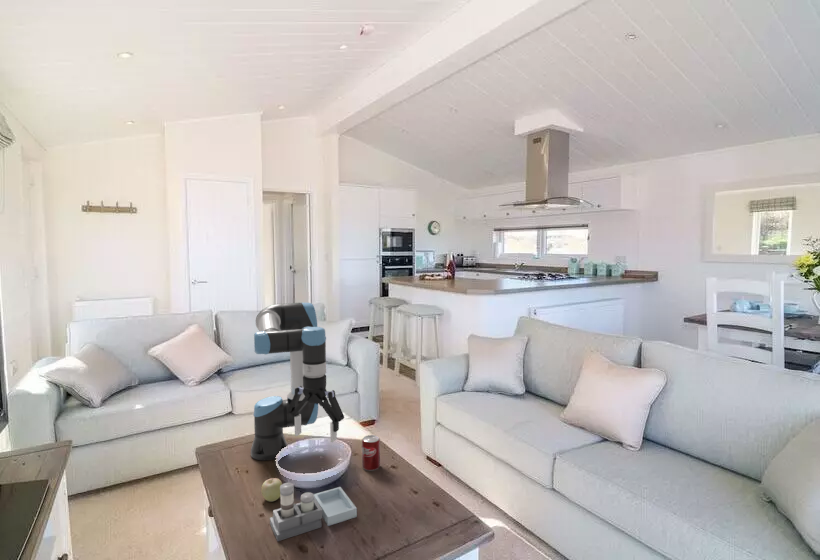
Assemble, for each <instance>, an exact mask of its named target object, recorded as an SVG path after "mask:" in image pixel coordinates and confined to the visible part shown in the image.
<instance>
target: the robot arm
mask: <svg viewBox="0 0 820 560" xmlns="http://www.w3.org/2000/svg"><path fill="white" fill-rule="evenodd" d="M317 319H318V318H317V314H316V309H315V305H314V304H313V303H312V302H292V303H291V302H289V303H274V304H271V305H268V306H267V307H265V308H263V309H261V310H260V311H259V313H258V314H257V316H256V318H255V326H256V328H257V330H258V331H256V332H254V335H253V336H254V337H253V339H254V340H253V341H254V345H253V346H254V353H255V354H256V355H268V354H282V353H289V360H290V361H289V363H290V364H289V365H290V366H289V367H290V369H289V370H290V371H289V372H290V373H289V375H290V392H289V393H288V394H287V395H286V396H287V397H286V398H287V399H283V398H282V397H281V396H278V395H272V396H267V397H265V398H262V399H259V400H258V401H257V402H256V403H255V404H254V406H253V417H254V418H253V420H254V421H253V425H254V437H253V441H252V445H251V448H250V456H251V458H252V459H254V460H256V461H273V460H276V459H275V457H276V455H277V454H278V453H279V451H281V449H282V448H284V447H286V446H287V447H288V443H287V440H286V437H285V435H284V429H286V428H291V427H292V428H293V427H294V436H295V437H298V436H299V435H301V434H302V427H303V426H308V425H313V424H315V423H316V421H317V419H318V414H319V406H320V407H322V409H323V410H324V412H325V413H326V414H327V416H328V418H330V420H331V422H329V423H330V424H329V425H330V443H334V442H335V441H336V440H338V431H339V429H340V425H339V424H340V422H342V420H344V419H345V415H344V414H343V411H342V409H341V408H342V407H341V406H340V403H339V401H338V399H337V397H336V391H335V390H334V389H332V390H327V375H326V374H327V355H326V354H327V351H326V347H327V346H326V345H327V343H326V342H327V336H326V329H325V328H324V327H321V326H318V320H317Z"/></svg>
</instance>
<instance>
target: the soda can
mask: <svg viewBox="0 0 820 560" xmlns="http://www.w3.org/2000/svg"><path fill="white" fill-rule="evenodd" d="M361 465H362V468H363V470H364V471H367V472H374V471H377V470H378V469H379V468H380V467H381V439H380V437H379V436H378V435H376V434H375V435H374V434H368V435H365V436H364V437H363V438H362V439H361Z"/></svg>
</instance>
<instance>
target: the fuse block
mask: <svg viewBox="0 0 820 560" xmlns="http://www.w3.org/2000/svg"><path fill="white" fill-rule="evenodd" d="M314 494H315V493H313V492H310V491H309V492H304V493H302V494H301V495H300V502H297V503H294V516H293V517H290V518H287V519H283V520H281V507H279V508H276V509H273V510H272V517H269V525H270V527H271V530H272V532H273V535H274V536H275V539H276V542H281V541H282V540H287V539H289V538H292V537H295V536H299V535H301V534H302V535H303V534H305V533H307V532H310V531H311V532H312V531H315V530H317V529H320V528H322V526H323V525H322V520H321V519H323V517H322V509H321V507H320V506H319V504H318V502H317V501H316V499H315V498H314Z"/></svg>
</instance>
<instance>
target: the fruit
mask: <svg viewBox="0 0 820 560" xmlns="http://www.w3.org/2000/svg"><path fill="white" fill-rule="evenodd" d="M282 484H283V483H282V481H281V480H280V479H279V478H278V477H277V478H276V477H275V478H274V477H271V478H269V479H266V480H265V481H264V482H263V483H262V485H261V488H260V490H261V492H260V493H261V495H262V497H263V499H264V500H266V501H267V502H271V503H272V502H275V501H277V500H278V499H280V498H281V495H280V486H281V485H282Z"/></svg>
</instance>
